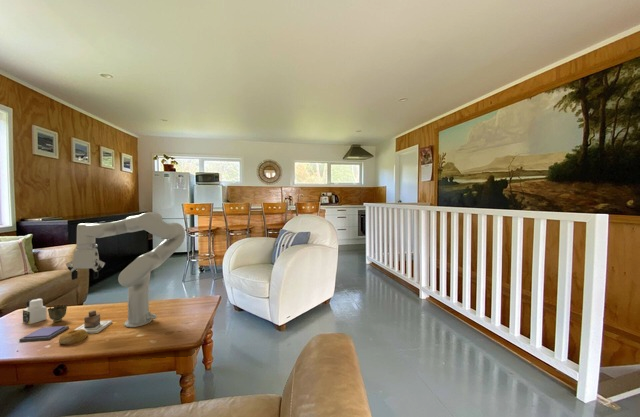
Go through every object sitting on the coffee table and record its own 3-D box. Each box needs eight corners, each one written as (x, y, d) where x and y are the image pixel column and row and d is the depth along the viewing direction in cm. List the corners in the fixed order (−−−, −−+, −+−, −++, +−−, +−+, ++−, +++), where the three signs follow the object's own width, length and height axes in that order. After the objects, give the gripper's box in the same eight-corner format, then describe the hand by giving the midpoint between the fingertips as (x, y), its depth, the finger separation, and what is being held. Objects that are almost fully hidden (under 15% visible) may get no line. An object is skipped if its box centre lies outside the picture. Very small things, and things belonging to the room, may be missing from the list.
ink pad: (68, 328, 138) (68, 325, 138) (49, 339, 126) (49, 336, 126) (41, 329, 136) (41, 326, 136) (19, 341, 124) (19, 338, 124)
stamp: (100, 323, 140) (100, 309, 140) (94, 327, 136) (94, 313, 136) (90, 324, 140) (90, 310, 140) (84, 328, 135) (84, 313, 135)
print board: (112, 322, 145) (112, 320, 145) (97, 333, 133) (97, 330, 133) (87, 324, 143) (87, 321, 143) (70, 334, 131) (70, 332, 131)
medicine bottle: (22, 322, 145) (22, 300, 144) (40, 317, 151) (40, 296, 151) (29, 324, 142) (29, 302, 142) (47, 319, 148) (46, 297, 148)
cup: (54, 325, 141) (54, 310, 141) (44, 323, 143) (44, 309, 143) (70, 319, 149) (70, 305, 149) (60, 318, 150) (60, 304, 150)
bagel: (93, 333, 133) (93, 324, 132) (77, 345, 122) (76, 334, 122) (71, 335, 131) (70, 325, 131) (52, 347, 120) (52, 336, 120)
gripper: (108, 245, 146) (108, 276, 146) (72, 245, 143) (71, 277, 143) (100, 247, 139) (99, 280, 139) (61, 247, 136) (60, 281, 136)
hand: (85, 278), depth 141 cm, fingers open, 9 cm apart
